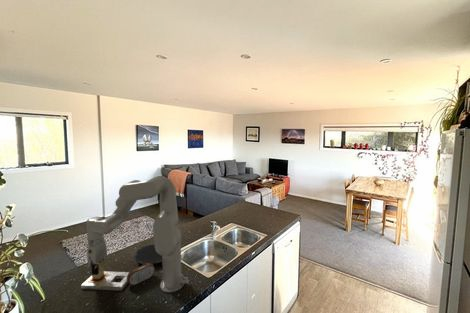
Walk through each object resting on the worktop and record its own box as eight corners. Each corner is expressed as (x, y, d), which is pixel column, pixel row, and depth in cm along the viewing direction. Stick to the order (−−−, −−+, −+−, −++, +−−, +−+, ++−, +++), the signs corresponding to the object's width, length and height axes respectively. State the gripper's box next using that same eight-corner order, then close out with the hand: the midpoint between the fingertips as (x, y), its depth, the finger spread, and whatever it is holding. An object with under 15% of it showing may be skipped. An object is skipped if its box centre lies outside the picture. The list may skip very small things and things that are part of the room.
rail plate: (133, 275, 128) (133, 271, 128) (121, 290, 116) (121, 286, 116) (96, 274, 129) (96, 270, 129) (81, 288, 117) (81, 284, 117)
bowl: (160, 246, 160) (160, 240, 160) (176, 260, 145) (176, 253, 144) (128, 258, 145) (128, 251, 144) (142, 276, 130) (142, 267, 129)
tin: (153, 273, 130) (153, 260, 129) (156, 276, 128) (155, 262, 127) (126, 286, 120) (125, 271, 119) (128, 289, 117) (128, 274, 116)
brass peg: (104, 274, 125) (103, 259, 124) (99, 279, 121) (98, 263, 120) (97, 274, 125) (96, 259, 124) (92, 279, 121) (91, 263, 120)
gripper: (91, 248, 112) (94, 282, 114) (112, 233, 128) (113, 263, 131) (77, 247, 112) (80, 281, 114) (99, 232, 129) (101, 262, 131)
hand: (98, 271), depth 122 cm, fingers closed on brass peg, 4 cm apart
